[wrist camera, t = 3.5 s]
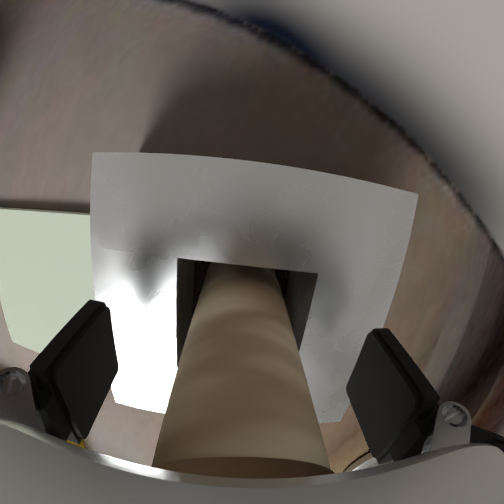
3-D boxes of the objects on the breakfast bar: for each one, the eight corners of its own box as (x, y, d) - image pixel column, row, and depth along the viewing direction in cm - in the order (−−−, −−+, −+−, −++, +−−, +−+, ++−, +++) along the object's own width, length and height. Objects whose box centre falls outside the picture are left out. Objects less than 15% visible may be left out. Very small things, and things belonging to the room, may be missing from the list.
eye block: (369, 184, 15) (418, 194, 10) (321, 370, 18) (339, 421, 14) (137, 154, 14) (93, 152, 9) (139, 352, 17) (115, 402, 13)
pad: (110, 215, 15) (106, 216, 14) (124, 373, 18) (122, 378, 18) (-8, 206, 14) (-13, 208, 13) (15, 338, 17) (12, 341, 17)
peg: (283, 249, 16) (394, 516, 2) (271, 314, 17) (314, 557, 3) (207, 240, 15) (102, 514, 2) (202, 307, 16) (150, 552, 3)
